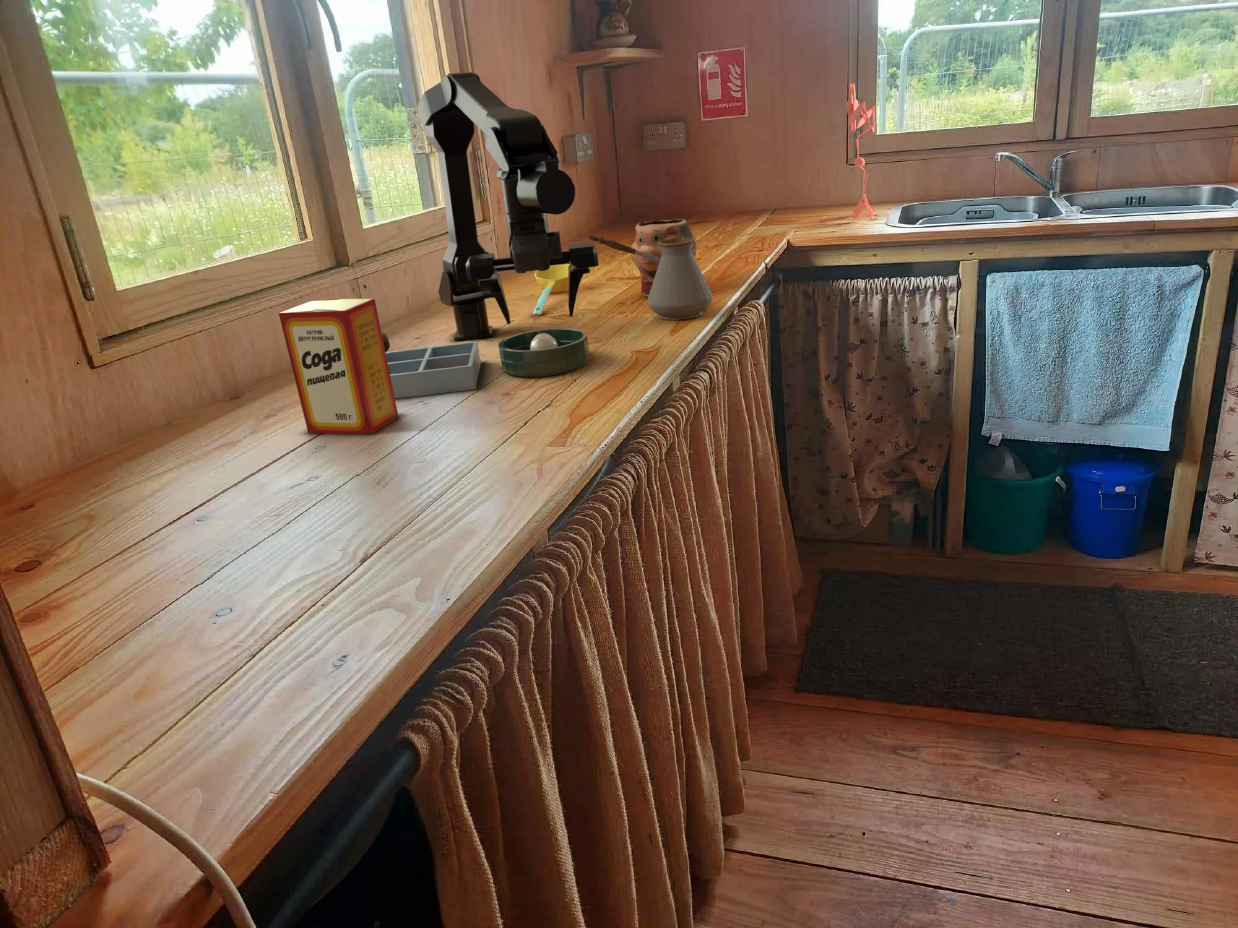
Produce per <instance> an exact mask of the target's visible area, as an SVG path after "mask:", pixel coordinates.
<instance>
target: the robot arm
mask: <svg viewBox="0 0 1238 928" xmlns="http://www.w3.org/2000/svg"><path fill="white" fill-rule="evenodd" d="M417 115H418V120H419V122H420V124H421V126H422V128H423V129H422V130H423V133H424V136H425V138H426V139H427V141H428V142H429V143H430V144H431V146H432V147H433V148H434V150H435V151H436V154H437V160H438V168H439V173H440V182H441V188H442V189H441V190H442V197H443V202H444V210H445V211H444V212H445V217H446V224H447V225H446V226H447V231H448V239H449V242H448V245H447V248H446V250H445V252H444V255H443V257H442V268H443V270H442V273H441V277H440V282H439V287H438V295H439V299H440V303H441V304H442V305H445V306H448V307H452V311H453V315H454V322H455V327H456V330H455V334H454V336H453V338H454V340H453V341H460V340H461V341H462V340H471V339H478V338H479V339H480V338H488V337H492V335H493V329H494V328H493V325H490V324H489V317H488V311H487V305H486V300H488V299H494V300H495V301H496V303H497V305H498V307H499V309H500V311H501V313H502V315H503V317H504V320H505V322H506V323H507V325H511V322H512V321H511V316H510V309H509V306H508V301H507V299H506V294H505V290H504V287H503V283H502V279H501V278H502V277H501V275H500V273H498V272H506V271H515V272H516V273H517V274H526V273H527V272H535V271H536V270H539V271H545V270H548V269H549V268H550V266H551V265H560V264H569V265H570V266H568V289H567V290H568V291H567V292H568V294H567V295H568V296H567V297H568V298H567V299H568V300H567V301H568V303H567V304H568V315H569V318H572V317H573V316H574V311H575V306H576V300H577V294H578V290H579V288H580V284H581V282H582V279H583V277H584V275H586V274H590V273H591V268H595V267H599V266H600V265H599V264H600V263H599V254H598V249H597V247H596V245H595V244H593V242H591V241H590V242H589V241H588V243H587V242H580V243H573V244H567V247H568V248H567V249H568V250H563V249H562V242H561V241H562V240H561V234H560V233H561V232H560V230H557V231H550V230H549V222H548V215H557V216H558V215H562V214H564V213H566V212H567V211H568V210H569V209H570V208H571V207H572V206H573V204H574V201H575V198H576V186H575V184H574V183H573V179H572V178H571V177H570V175H569V174H568V173H566V171H564V170H562V169H560V166H559V165H560V160H559V157H558V150H557V148H556V147H555V145H554V143H553V142H552V141H551V138H550V137H549V134H548V132H547V130H546V128H545V126H544V125H543V123H542V121H541V120H540V119H539V117H538V116H537V115H536V114H533V113H531V112H529V111H527V110H524V109H519V108H513V107H511V106H508V105H507V104H506V103H505V102H504V101H503V100H501V98H500V97H498V96H497V95H496V94H495V93H494V92H493V91H492V90H491V89H490V88H488V87H487V86H486V84H484V83H483V82H482V80H481V78H480V76H479V74H477V73H474V72H473V71H465V72H463V71H462V72H452V73H448V74H446V75H444V76H443V77H442V78H441V80H440V82H438V83H437V84H434V86H432V87H430V88H428V89H427V90H426V91H424V92H423V94H422V96H421V98H420V99H419V101H418V103H417ZM475 125H476V126H477V127H478V128H479V129H480V130H481V131H482V132H483V134H484V135H485V140H484V141H485V143H484V144H485V148H486V150H487V151H488V153H489V154H490V156H491V157H492V159H493V160H494V161H495V163H496V164H497V165H498V167H499V169H498V170H497V172H496V174H495V175H496V178H497V179H500V183H501V189H502V190H501V191H502V196H503V204H504V211H505V218H506V226H507V234H508V239H509V240H508V247H509V249H508V250H509V255H510V256H506V257H498V258H496V257H495V253H494V252H491V253H490V252H488V251H487V250H486V249H485V248H484V246H482V244H481V243H480V242H479V237H478V236H479V235H478V229H477V220H476V212H475V205H474V197H473V196H474V195H473V189H472V181H471V173H470V165H469V157H468V149H469V146H470V145H471V142H472V140H473V137H474V134H475V132H476V131H475V130H476V129H475Z"/></svg>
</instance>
